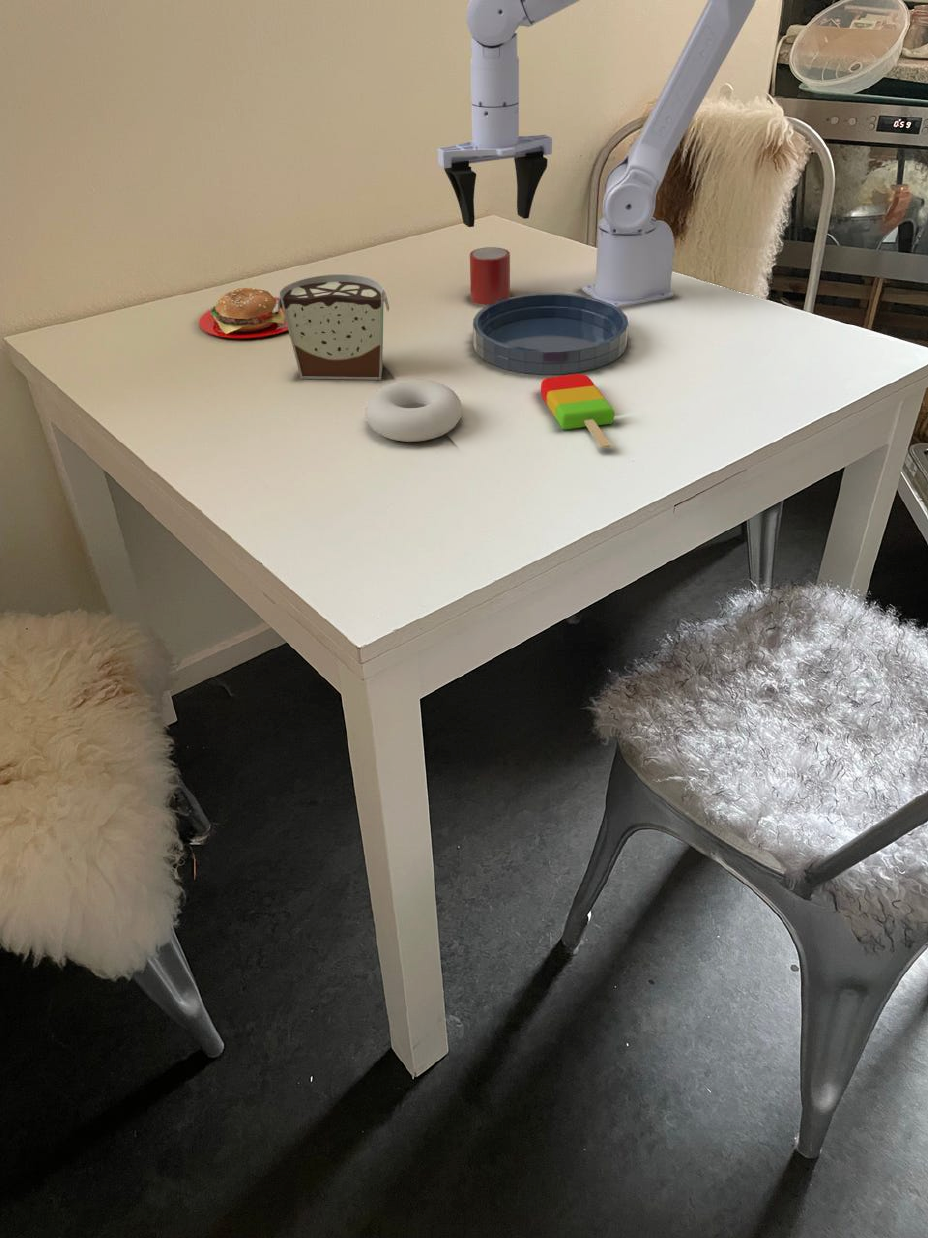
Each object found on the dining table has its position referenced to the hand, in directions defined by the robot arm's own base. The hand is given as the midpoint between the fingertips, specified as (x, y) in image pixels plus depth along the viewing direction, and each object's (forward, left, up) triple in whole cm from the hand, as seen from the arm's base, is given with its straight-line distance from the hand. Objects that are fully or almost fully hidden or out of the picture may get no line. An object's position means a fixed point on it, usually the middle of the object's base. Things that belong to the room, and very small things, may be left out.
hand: (496, 220), depth 123 cm
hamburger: (+32, -6, -10) cm, 34 cm away
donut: (+24, +31, -10) cm, 40 cm away
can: (+2, +2, -9) cm, 10 cm away
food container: (+26, +14, -10) cm, 31 cm away
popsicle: (+8, +38, -10) cm, 40 cm away
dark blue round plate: (+2, +19, -9) cm, 21 cm away
